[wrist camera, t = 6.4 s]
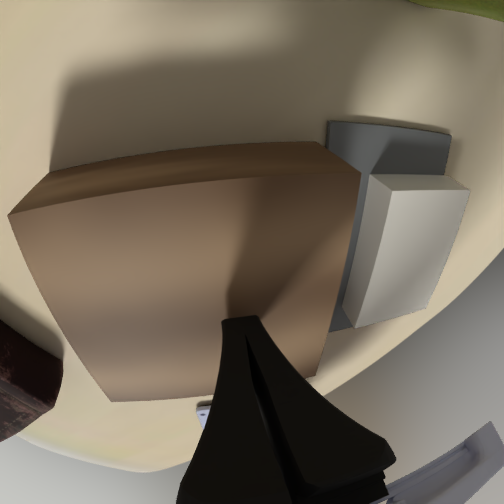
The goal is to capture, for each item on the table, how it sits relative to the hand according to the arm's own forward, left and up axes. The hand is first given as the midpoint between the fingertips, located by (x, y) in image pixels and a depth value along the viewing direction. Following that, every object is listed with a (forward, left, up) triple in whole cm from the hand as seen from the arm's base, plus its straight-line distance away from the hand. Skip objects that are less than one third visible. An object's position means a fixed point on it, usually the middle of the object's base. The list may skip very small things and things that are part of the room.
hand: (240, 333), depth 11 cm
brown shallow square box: (0, +2, -5) cm, 5 cm away
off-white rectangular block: (0, -10, -2) cm, 11 cm away
